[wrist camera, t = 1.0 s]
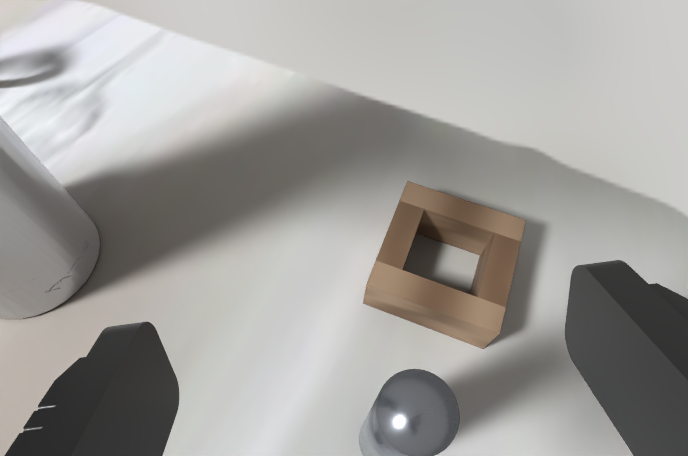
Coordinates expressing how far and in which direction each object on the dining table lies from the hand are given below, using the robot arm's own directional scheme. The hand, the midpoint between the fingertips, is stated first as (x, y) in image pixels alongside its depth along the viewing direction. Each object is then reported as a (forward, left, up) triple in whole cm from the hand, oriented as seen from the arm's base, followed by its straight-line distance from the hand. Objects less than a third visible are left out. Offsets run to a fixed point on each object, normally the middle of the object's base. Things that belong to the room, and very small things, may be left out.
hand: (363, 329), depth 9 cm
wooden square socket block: (+3, +13, -22) cm, 26 cm away
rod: (+3, +1, -22) cm, 22 cm away
